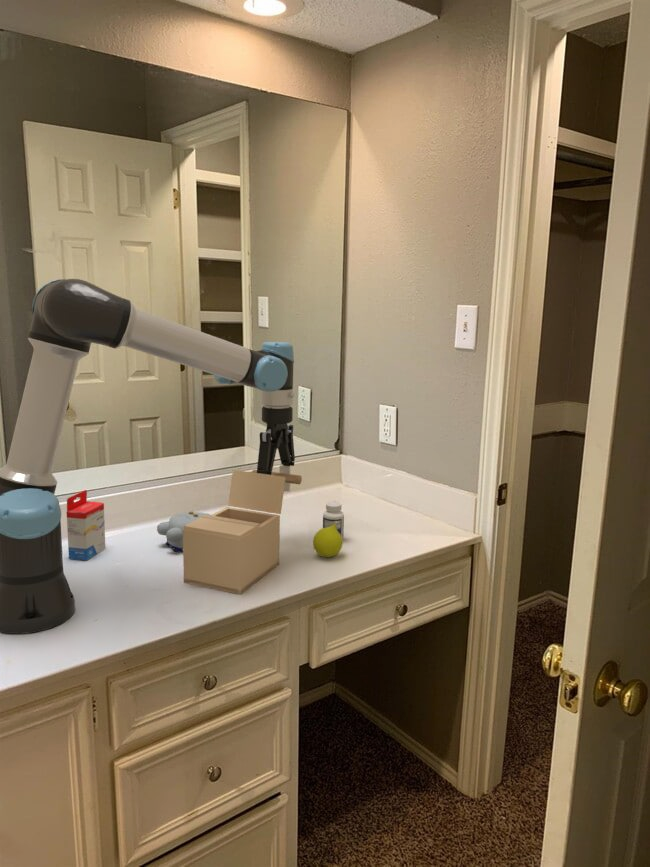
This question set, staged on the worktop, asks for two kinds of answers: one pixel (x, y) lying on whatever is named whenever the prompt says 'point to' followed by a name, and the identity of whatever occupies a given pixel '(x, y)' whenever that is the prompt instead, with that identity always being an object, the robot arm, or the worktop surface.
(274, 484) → the tan handled panel part
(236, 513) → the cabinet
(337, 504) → the pill bottle
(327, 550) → the ornament
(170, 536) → the figurine
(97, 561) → the worktop surface
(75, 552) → the ink box
